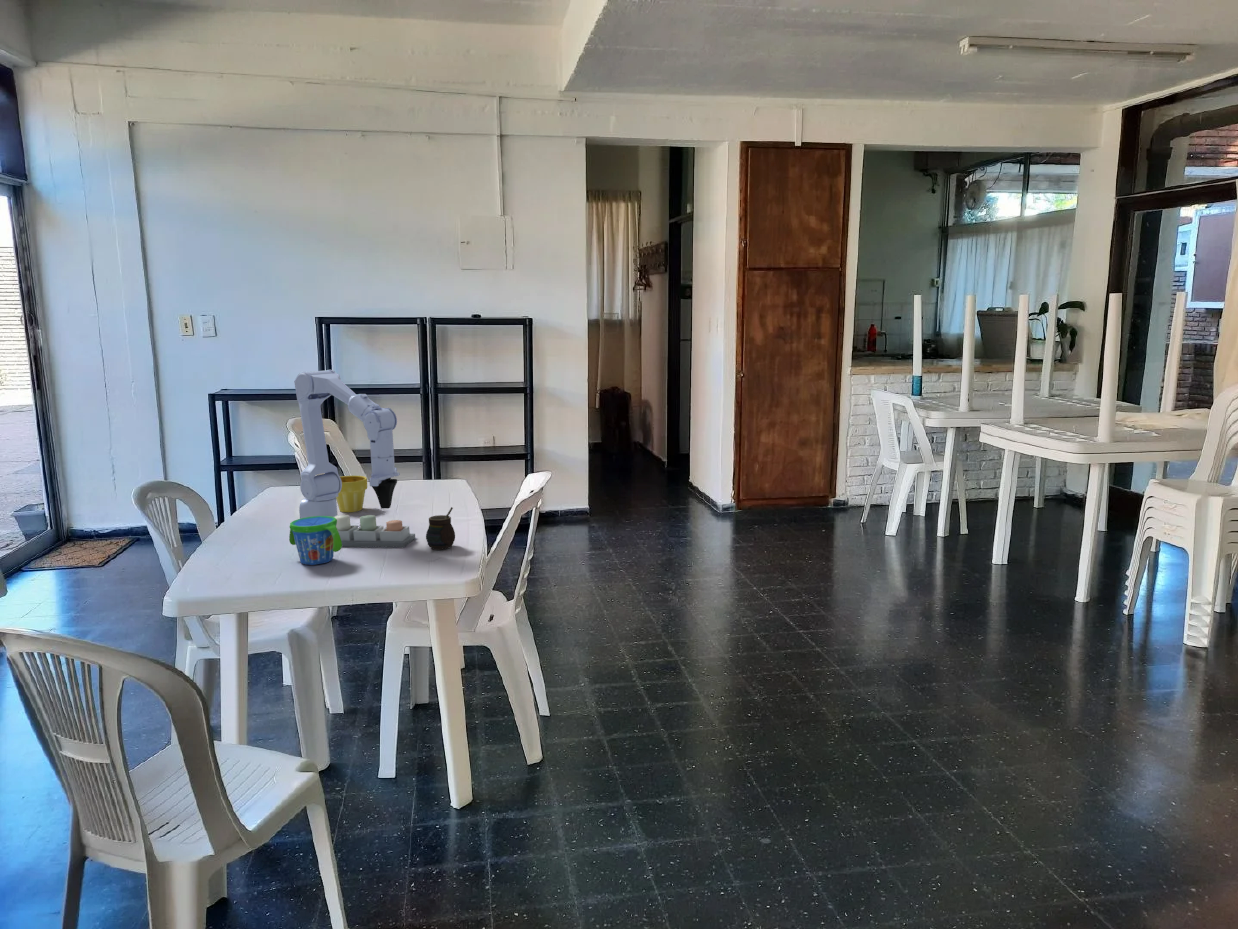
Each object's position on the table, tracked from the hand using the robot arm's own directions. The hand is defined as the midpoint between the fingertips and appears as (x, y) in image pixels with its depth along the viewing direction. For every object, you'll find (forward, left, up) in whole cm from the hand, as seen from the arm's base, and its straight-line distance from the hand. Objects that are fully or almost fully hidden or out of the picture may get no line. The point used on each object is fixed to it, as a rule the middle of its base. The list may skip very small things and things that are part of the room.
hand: (385, 507), depth 216 cm
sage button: (-5, 0, -6) cm, 8 cm away
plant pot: (-24, +35, -10) cm, 44 cm away
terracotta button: (+2, 0, -8) cm, 8 cm away
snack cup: (-11, -17, -10) cm, 23 cm away
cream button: (-12, 0, -7) cm, 14 cm away
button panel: (-5, 0, -9) cm, 11 cm away
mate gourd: (+16, -4, -10) cm, 19 cm away
